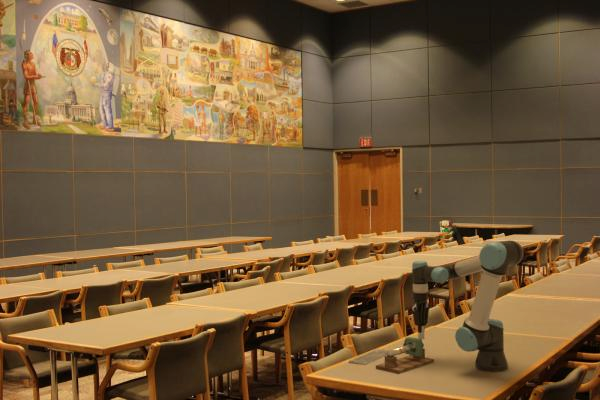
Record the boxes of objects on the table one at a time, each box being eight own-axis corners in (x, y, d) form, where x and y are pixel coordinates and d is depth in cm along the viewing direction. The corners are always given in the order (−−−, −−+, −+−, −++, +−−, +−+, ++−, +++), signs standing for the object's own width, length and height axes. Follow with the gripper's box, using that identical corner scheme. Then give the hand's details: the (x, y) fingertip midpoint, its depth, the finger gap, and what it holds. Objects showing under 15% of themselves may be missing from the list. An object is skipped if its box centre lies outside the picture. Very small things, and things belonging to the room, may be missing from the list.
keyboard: (366, 366, 340) (366, 362, 340) (348, 364, 346) (348, 360, 346) (393, 353, 364) (393, 350, 364) (376, 351, 370) (376, 348, 370)
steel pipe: (417, 347, 347) (417, 340, 347) (422, 348, 345) (422, 341, 345) (386, 356, 331) (386, 349, 331) (392, 357, 328) (391, 350, 328)
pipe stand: (411, 357, 352) (411, 345, 352) (434, 362, 342) (433, 349, 342) (375, 368, 333) (375, 355, 333) (398, 373, 323) (398, 360, 323)
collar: (409, 352, 346) (409, 336, 346) (422, 355, 341) (422, 339, 340) (405, 353, 344) (405, 337, 344) (418, 356, 339) (418, 340, 338)
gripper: (422, 289, 353) (423, 335, 354) (406, 292, 345) (407, 339, 345) (434, 291, 348) (435, 337, 348) (418, 294, 339) (419, 341, 340)
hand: (421, 338), depth 347 cm, fingers closed
